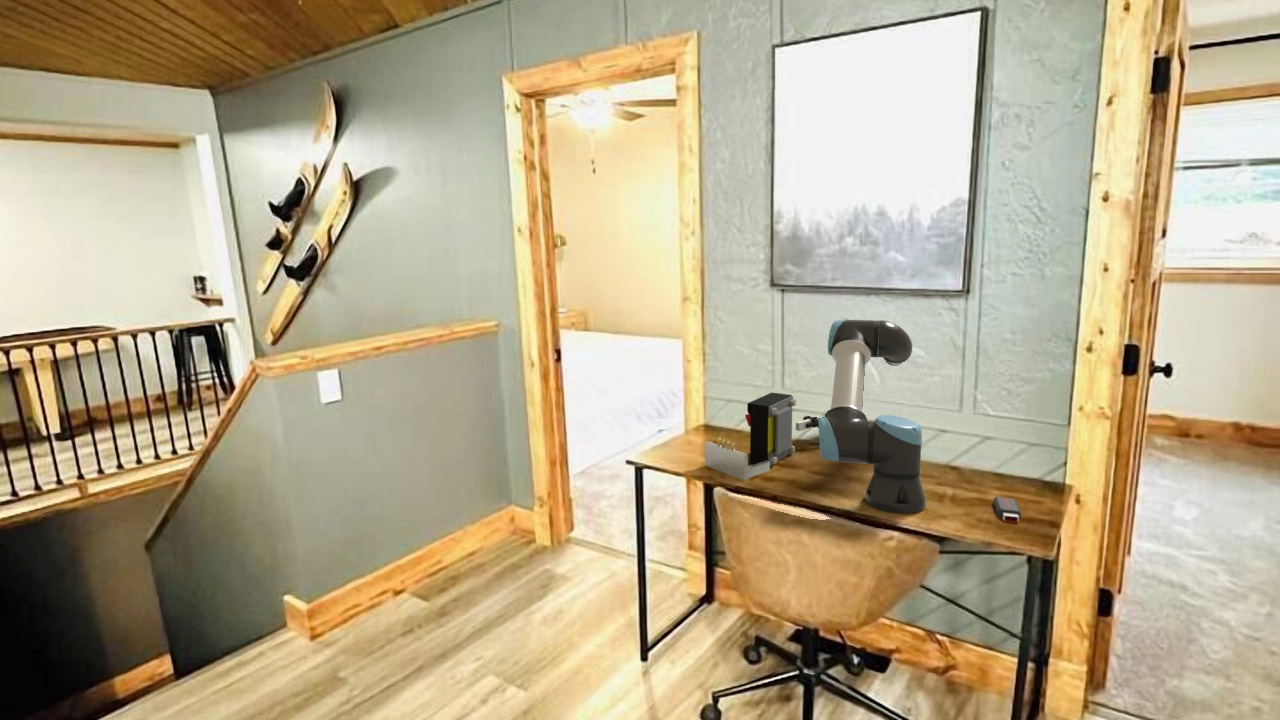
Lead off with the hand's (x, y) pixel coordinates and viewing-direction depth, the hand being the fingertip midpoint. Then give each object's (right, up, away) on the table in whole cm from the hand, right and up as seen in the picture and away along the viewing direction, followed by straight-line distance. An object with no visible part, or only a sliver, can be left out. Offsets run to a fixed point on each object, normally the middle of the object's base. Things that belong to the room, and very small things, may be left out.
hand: (797, 426), depth 223 cm
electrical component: (-10, -10, -7) cm, 16 cm away
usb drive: (+41, -17, -54) cm, 70 cm away
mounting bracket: (-22, -11, -16) cm, 30 cm away
